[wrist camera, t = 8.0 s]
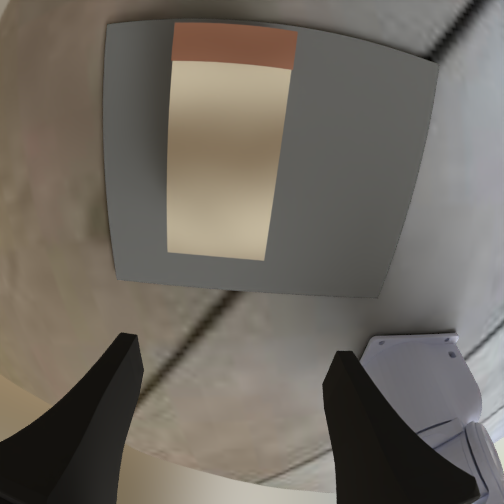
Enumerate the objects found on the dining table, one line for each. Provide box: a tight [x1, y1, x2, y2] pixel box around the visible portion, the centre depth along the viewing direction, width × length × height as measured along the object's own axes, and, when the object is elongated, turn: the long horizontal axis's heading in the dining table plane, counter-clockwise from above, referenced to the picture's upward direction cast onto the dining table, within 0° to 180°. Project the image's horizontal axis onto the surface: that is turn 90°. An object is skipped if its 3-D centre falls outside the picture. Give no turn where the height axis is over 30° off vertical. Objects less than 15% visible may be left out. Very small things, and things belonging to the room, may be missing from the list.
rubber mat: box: [103, 19, 439, 298], centre depth 17 cm, size 18×16×1 cm
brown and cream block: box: [167, 23, 298, 261], centre depth 14 cm, size 10×5×4 cm, turn 174°
